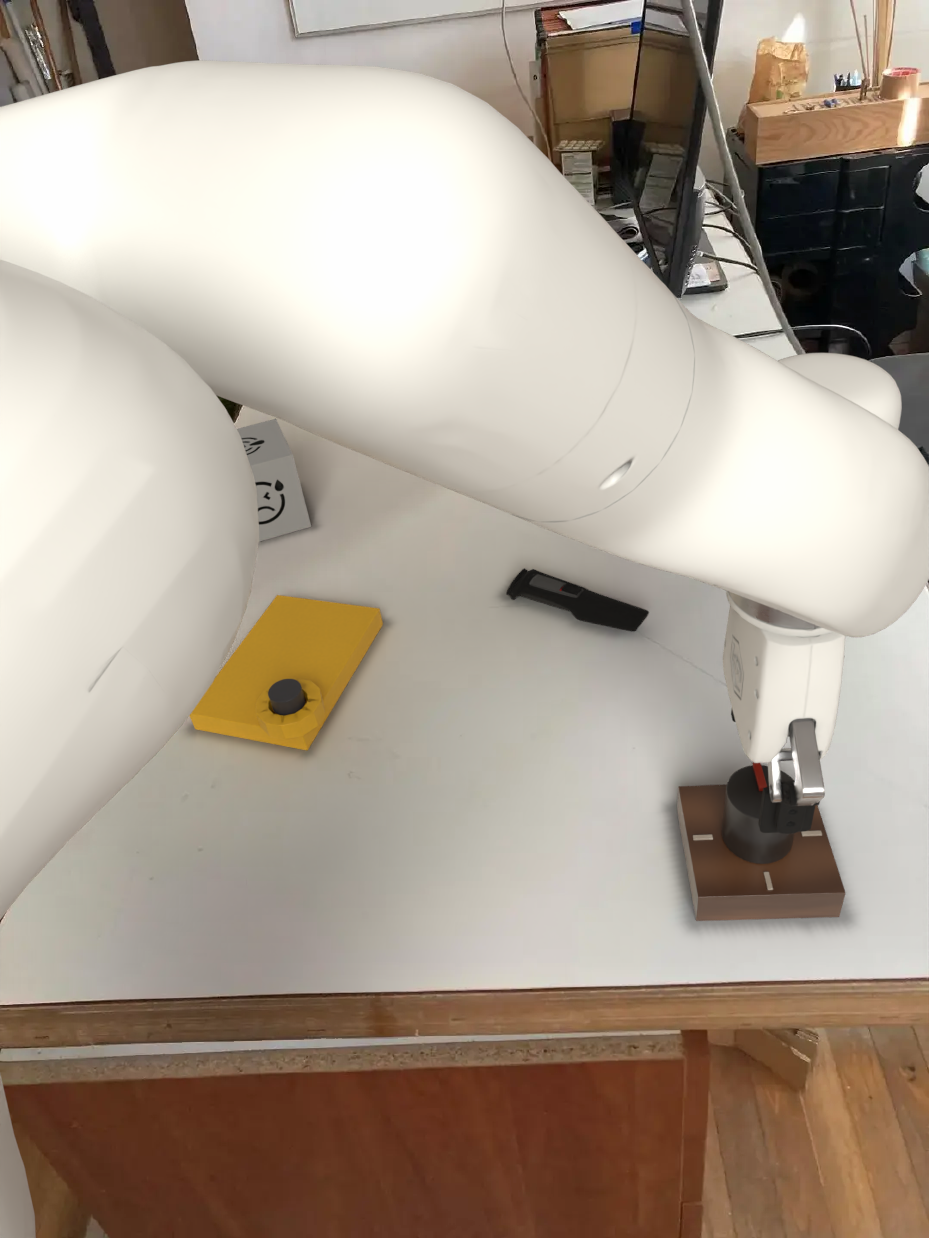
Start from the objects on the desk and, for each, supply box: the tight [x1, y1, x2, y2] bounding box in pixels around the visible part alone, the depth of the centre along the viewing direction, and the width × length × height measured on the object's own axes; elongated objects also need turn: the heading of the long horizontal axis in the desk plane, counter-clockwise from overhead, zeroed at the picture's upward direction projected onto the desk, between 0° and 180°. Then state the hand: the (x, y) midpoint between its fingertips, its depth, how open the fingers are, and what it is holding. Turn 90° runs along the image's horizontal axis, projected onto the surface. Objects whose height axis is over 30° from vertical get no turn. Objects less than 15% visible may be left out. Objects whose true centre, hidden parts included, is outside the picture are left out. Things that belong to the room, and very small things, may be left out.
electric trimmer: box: [506, 568, 650, 632], centre depth 94 cm, size 4×16×3 cm, turn 54°
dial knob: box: [722, 762, 795, 864], centre depth 67 cm, size 5×5×5 cm
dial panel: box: [676, 783, 846, 922], centre depth 69 cm, size 10×10×3 cm
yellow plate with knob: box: [189, 594, 384, 751], centre depth 90 cm, size 19×13×4 cm
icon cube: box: [237, 418, 312, 543], centre depth 112 cm, size 10×10×10 cm
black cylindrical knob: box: [268, 679, 305, 716], centre depth 83 cm, size 3×3×2 cm
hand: (767, 770), depth 64 cm, fingers open, 9 cm apart
